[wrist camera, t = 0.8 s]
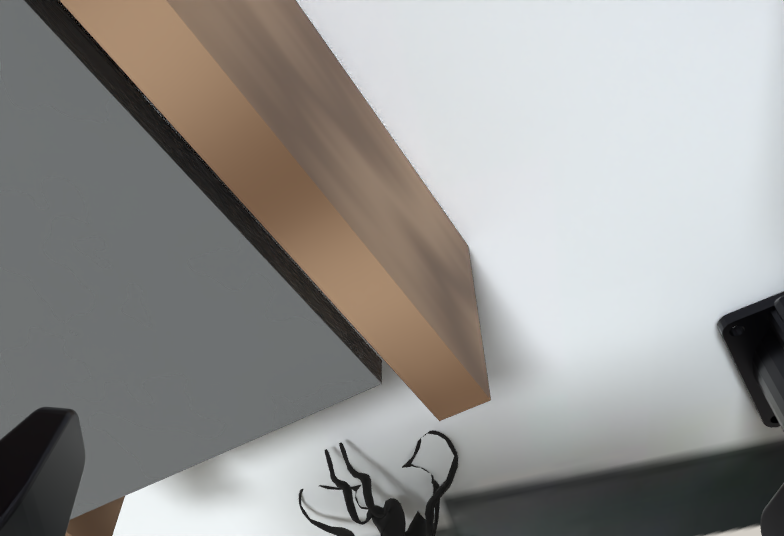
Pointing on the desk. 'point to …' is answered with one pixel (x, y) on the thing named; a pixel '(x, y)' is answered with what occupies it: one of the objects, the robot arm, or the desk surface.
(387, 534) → the creature
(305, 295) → the trapdoor
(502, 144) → the desk surface
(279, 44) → the wooden stand
